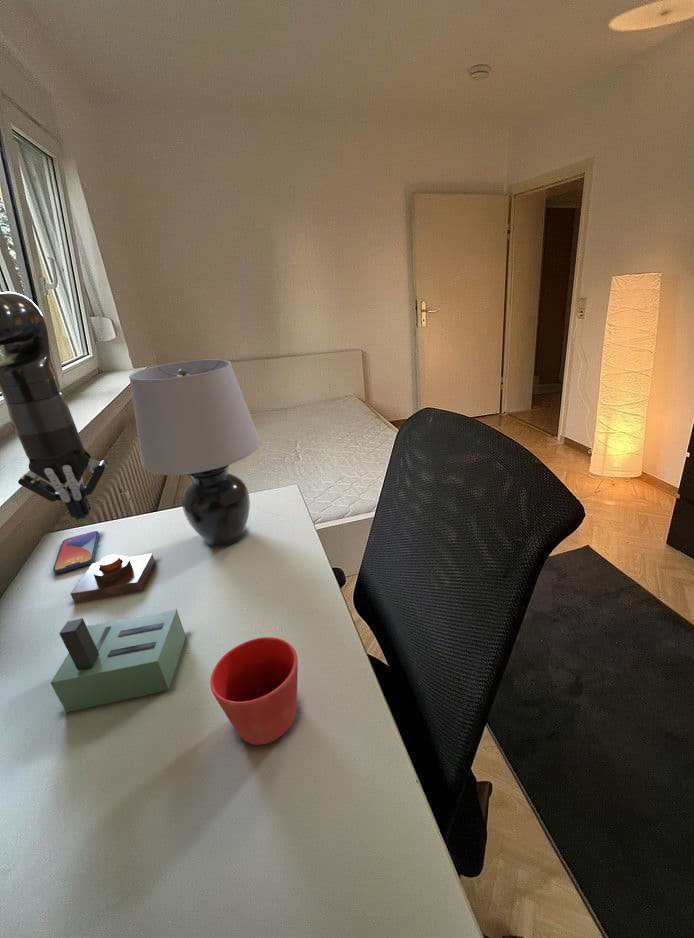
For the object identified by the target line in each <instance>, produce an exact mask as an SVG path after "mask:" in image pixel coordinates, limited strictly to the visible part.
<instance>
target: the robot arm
mask: <svg viewBox="0 0 694 938" xmlns="http://www.w3.org/2000/svg"><path fill="white" fill-rule="evenodd" d="M49 339H50V338H49V331H48V326H47V323H46V319H45V318H44V316H43V314H42V312H41V310H40V309H39V307H38V306H37V305H36V304H35V303H34V302H33V301H32V300H31V299H29V298H28V297H27V296H25V295H23V294H20V293H17V292H13V291H12V292H11V291H5V292H0V346H2V350H3V358H2V359H1V361H0V393H1V395H2V397H3V400H4V402H5V404H6V407H7V412H8V416H9V419H10V421H11V426H12V428H13V429H14V430H15V432H16V435H17V437H18V440H19V441H20V444H21V446H22V449H23V451H24V453H25V455H26V457H27V458H28V461H29V462H28V469H29V470H28V471H27V472H26V473H24V474H23V475H22V476H21V477H20V478H19V479H18V481H17V483H18V484H19V485H20V486H22V487H24V488H26V489H27V490H29V491H31V492H32V493H34V494H36V495H38V496H39V497H42V498H44V499H46V500H47V501H49V502H56V501H60V502H63V503H64V504H65V506H66V508H67V511H68V513H69V516H70V517H71V518H74V519H75V520H76V521H80V520H83V519H88V517H89V515H90V513H91V511H92V507H91V503H90V502H89V499H88V497H87V496H89V495H92V494H93V493H94V491H95V489H96V488H97V486H98V484H99V482H100V480H101V478H102V476H103V474H104V472H105V470H106V469H107V467H108V465H109V463H108V461H107V460H106V459H105V460H103V459H102V460H101V461H100V460H97V459H94V458H92V457H91V454H90V453H89V452H88V451H87V450H86V449H85V448H84V444H83V442H82V439H81V436H80V434H79V430H78V429H77V425H76V423H75V421H74V417H73V415H72V413H71V410H70V408H69V405H68V403H67V401H66V400H65V398H64V396H63V394H62V392H61V389H60V386H59V384H58V381H57V379H56V376H55V374H54V372H53V369H52V362H51V349H50V340H49ZM88 466H89V472H90V473H91V474H92V475H91V477H90V478H89V481H88V482H87V484H86V485H85V483H84V477H83V476H84V475H85V472H86V471H87V468H88Z"/></svg>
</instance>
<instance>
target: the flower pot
mask: <svg viewBox="0 0 694 938" xmlns="http://www.w3.org/2000/svg"><path fill="white" fill-rule="evenodd" d="M298 662H299V661H298V654H297V651H296V650H295V647H294V646H293V645H292V644H290V643H289V642H288V641H286V640H285V639H281V638H279V637H274V636H273V637H272V636H271V637H270V636H264V637H257V638H253V639H250V640H247V641H244V642H241V643H240V644H238V645H236V646H235V647H233V648H232V649H230V650H229V651H227V652H226V653H225V654H224V655H223V656H222V657H221V658H220V659H219V660H218V662H217V663H216V664H215V666H214V668H213V670H212V672H211V676H210V680H209V684H210V689H211V692H212V694H213V696H214V698H215V700H216V701H217V703H218V704H219V706H220V708H221V709H222V711H223V713H224V714H225V716H226V717H227V719H228V720H229V722H230V723H231V725H232V727H233V728H234V730H235V731H236V732H237V733H238V735H239V736H240V738H241V739H242V740H243V741H245V742H246V743H248V744H250V745H255V746H256V745H257V746H259V745H260V746H261V745H265V744H270V743H273V742H274V741H276V740H278V739H280V738H281V737H282V736H283V735H284V734H286V732H287V731H288V730H289V729H290V728H291V726H292V725H293V722H294V720H295V718H296V713H297V701H298V699H297V698H298V681H299V679H298V676H299V674H298V673H299V663H298Z"/></svg>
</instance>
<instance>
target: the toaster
mask: <svg viewBox="0 0 694 938" xmlns="http://www.w3.org/2000/svg"><path fill="white" fill-rule="evenodd" d="M86 626H87V629H88V631H89V633H90V635H91V637H92V640H93V642H94V644H95V646H96V648H97V650H98V653H99V656H98V658H97V660H96V662H95V664H94V666H93V667H92V668H87V669H82V670H77V668H76V666H75V664H74V662H73V660H72V658H71V656H70V654H69V652H67V653H68V654H67V655H66V657H64V660H63V661H62V663H61V665H60V666H59V668H58V670H57V672H56V673H55V674H54V676H53V678H52V680H51V681H50V685H51V687H52V689H53V691H54V692H55V694H56V696H57V698H58V700H59V702H60V703H61V705H62V707H63V709H64V711H65V713H69V712H74V711H78V710H83V709H87V708H92V707H97V706H103V705H107V704H112V703H117V702H121V701H126V700H130V699H134V698H139V697H143V696H144V697H145V696H148V695H154V694H158V693H162V692H167V691H170V688H171V685H172V682H173V679H174V676H175V672H176V669H177V666H178V663H179V659H180V656H181V653H182V650H183V647H184V645H185V641H186V637H187V635H186V631H185V629H184V625H183V623H182V621H181V618H180V615H179V612H178V609H172V610H166V611H160V612H154V613H149V614H144V615H139V616H133V617H128V618H123V619H116V620H112V621H107V622H100V623H96V624H90V625H86Z"/></svg>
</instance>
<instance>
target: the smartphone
mask: <svg viewBox="0 0 694 938" xmlns="http://www.w3.org/2000/svg"><path fill="white" fill-rule="evenodd" d="M99 539H100V533H99V531H98V530H95V531H89V532H87V533H83V534H82V533H81V534H78V535H75V536H72V537H68V538H66V539H64V540H62V542H61V545H60V548H59V550H58V553H57V556H56V558H55V562H54V565H53V568H52V571H53V573H54V574H62V573H65V572H68V571H71V570H74V569H77V568H81V567H84V566H88V565H91V564H92V563H94V561H95V557H96V554H97V553H96V552H97V548H98V544H99Z"/></svg>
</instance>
